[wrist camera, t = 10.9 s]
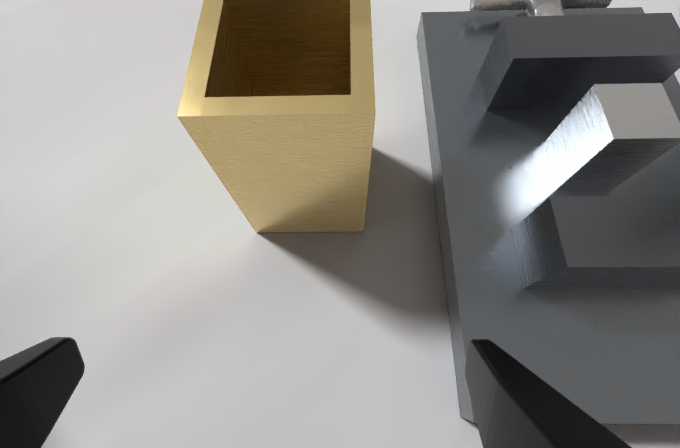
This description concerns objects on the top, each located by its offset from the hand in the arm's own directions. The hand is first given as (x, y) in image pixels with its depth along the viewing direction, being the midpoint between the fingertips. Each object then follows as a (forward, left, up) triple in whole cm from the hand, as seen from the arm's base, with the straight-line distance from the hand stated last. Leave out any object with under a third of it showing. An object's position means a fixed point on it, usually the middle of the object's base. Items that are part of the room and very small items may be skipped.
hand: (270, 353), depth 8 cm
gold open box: (+6, -5, -7) cm, 10 cm away
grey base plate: (-1, -14, -6) cm, 16 cm away
